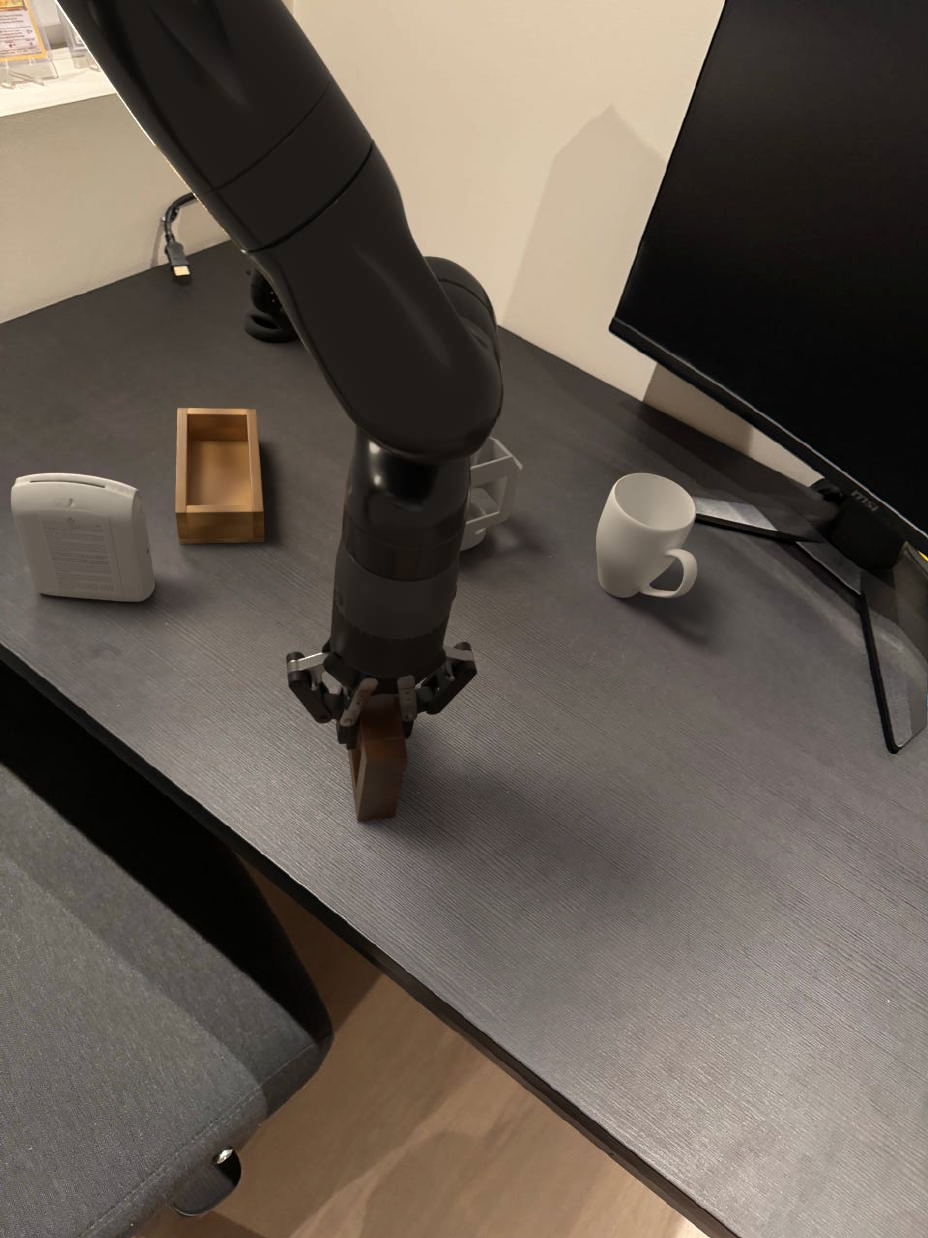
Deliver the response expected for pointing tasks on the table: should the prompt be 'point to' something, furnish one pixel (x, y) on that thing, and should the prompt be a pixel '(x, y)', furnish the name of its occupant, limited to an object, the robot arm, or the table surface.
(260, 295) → the webcam
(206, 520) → the holder
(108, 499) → the photo printer
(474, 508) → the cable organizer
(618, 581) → the mug
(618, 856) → the table surface
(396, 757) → the brown wooden box
